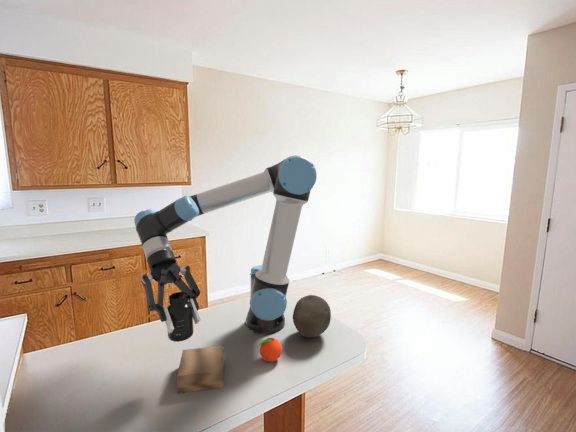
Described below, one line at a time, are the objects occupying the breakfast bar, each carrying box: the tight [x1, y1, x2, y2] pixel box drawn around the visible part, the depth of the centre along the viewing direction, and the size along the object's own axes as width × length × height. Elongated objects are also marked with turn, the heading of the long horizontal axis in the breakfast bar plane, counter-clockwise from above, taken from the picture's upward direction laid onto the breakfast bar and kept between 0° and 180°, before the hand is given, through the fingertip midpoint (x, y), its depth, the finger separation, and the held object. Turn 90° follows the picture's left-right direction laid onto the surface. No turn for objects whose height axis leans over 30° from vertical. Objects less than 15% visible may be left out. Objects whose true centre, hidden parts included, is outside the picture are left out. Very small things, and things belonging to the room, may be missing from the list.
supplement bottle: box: [166, 291, 194, 343], centre depth 84 cm, size 7×7×12 cm
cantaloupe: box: [292, 294, 332, 338], centre depth 108 cm, size 14×14×15 cm
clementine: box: [256, 337, 282, 363], centre depth 95 cm, size 8×7×7 cm
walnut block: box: [176, 345, 225, 394], centre depth 87 cm, size 12×12×5 cm
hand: (185, 326), depth 81 cm, fingers closed on supplement bottle, 7 cm apart
